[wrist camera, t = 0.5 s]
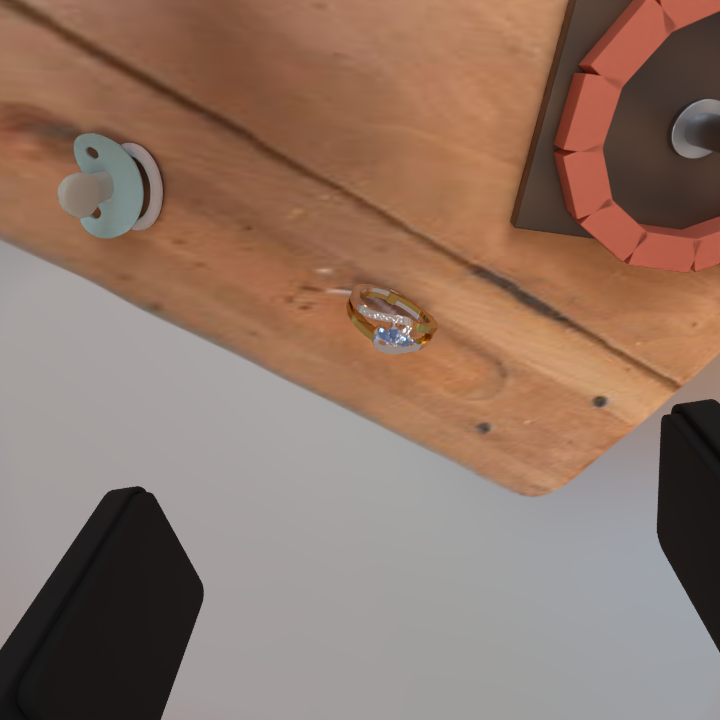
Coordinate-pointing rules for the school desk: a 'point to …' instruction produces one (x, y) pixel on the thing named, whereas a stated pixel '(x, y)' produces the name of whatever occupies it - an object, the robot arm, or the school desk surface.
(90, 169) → the pacifier
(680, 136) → the steel post
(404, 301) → the ring
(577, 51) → the board
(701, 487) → the robot arm
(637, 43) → the ring
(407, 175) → the school desk surface
